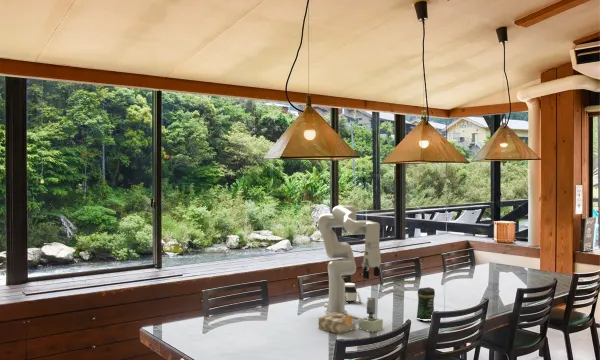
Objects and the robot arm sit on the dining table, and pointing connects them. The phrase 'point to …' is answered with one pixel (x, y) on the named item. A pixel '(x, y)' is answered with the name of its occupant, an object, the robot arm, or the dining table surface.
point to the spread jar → (351, 293)
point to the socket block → (334, 323)
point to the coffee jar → (425, 303)
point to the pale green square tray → (371, 324)
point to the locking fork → (352, 320)
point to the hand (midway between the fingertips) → (371, 277)
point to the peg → (371, 309)
